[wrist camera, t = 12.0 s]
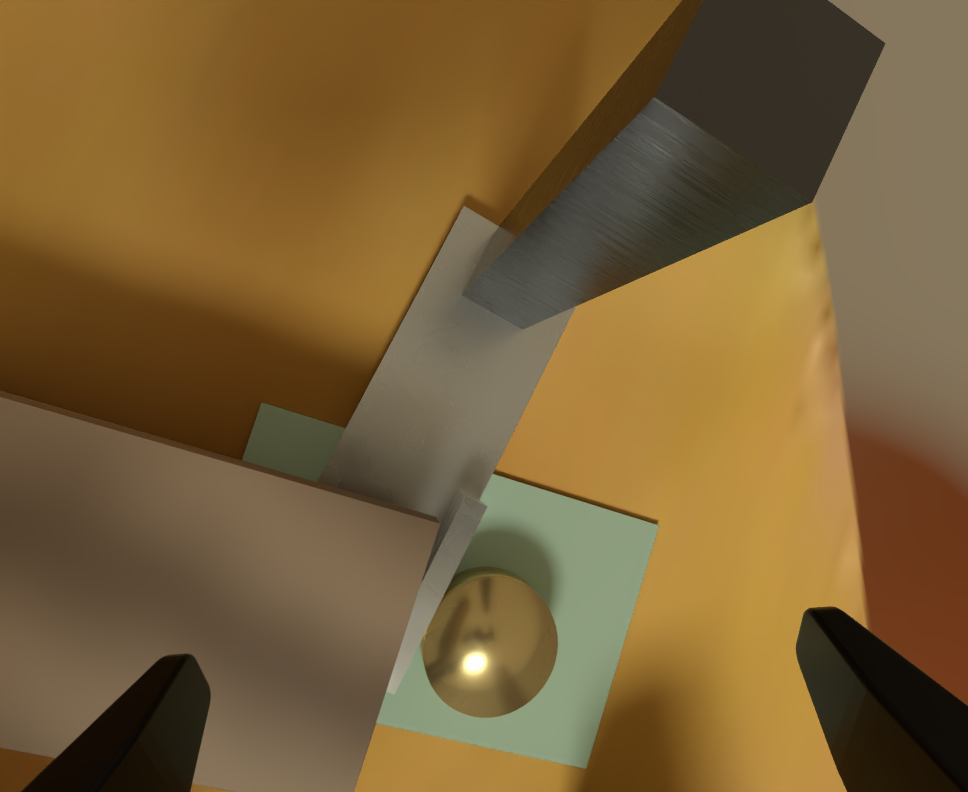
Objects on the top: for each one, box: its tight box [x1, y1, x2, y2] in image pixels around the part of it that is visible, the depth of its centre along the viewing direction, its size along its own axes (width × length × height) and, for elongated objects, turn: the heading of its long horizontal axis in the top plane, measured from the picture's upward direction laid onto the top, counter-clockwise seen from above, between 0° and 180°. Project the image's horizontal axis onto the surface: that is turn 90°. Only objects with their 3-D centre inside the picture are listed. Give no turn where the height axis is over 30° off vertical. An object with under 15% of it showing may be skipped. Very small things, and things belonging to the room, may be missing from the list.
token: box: [419, 567, 558, 718], centre depth 20 cm, size 4×4×2 cm
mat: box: [242, 402, 659, 769], centre depth 21 cm, size 9×14×1 cm, turn 72°
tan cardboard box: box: [0, 390, 440, 792], centre depth 17 cm, size 8×15×4 cm, turn 72°
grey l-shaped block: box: [318, 0, 885, 694], centre depth 14 cm, size 15×5×14 cm, turn 152°
